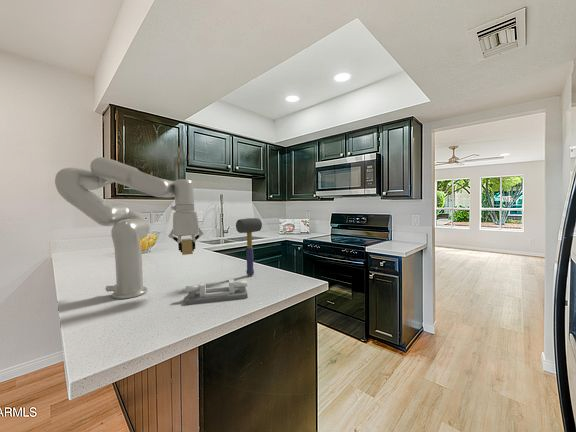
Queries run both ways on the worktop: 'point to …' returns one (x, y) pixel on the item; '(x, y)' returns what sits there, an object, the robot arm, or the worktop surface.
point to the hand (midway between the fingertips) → (187, 250)
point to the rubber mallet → (249, 238)
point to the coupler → (187, 246)
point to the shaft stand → (216, 292)
